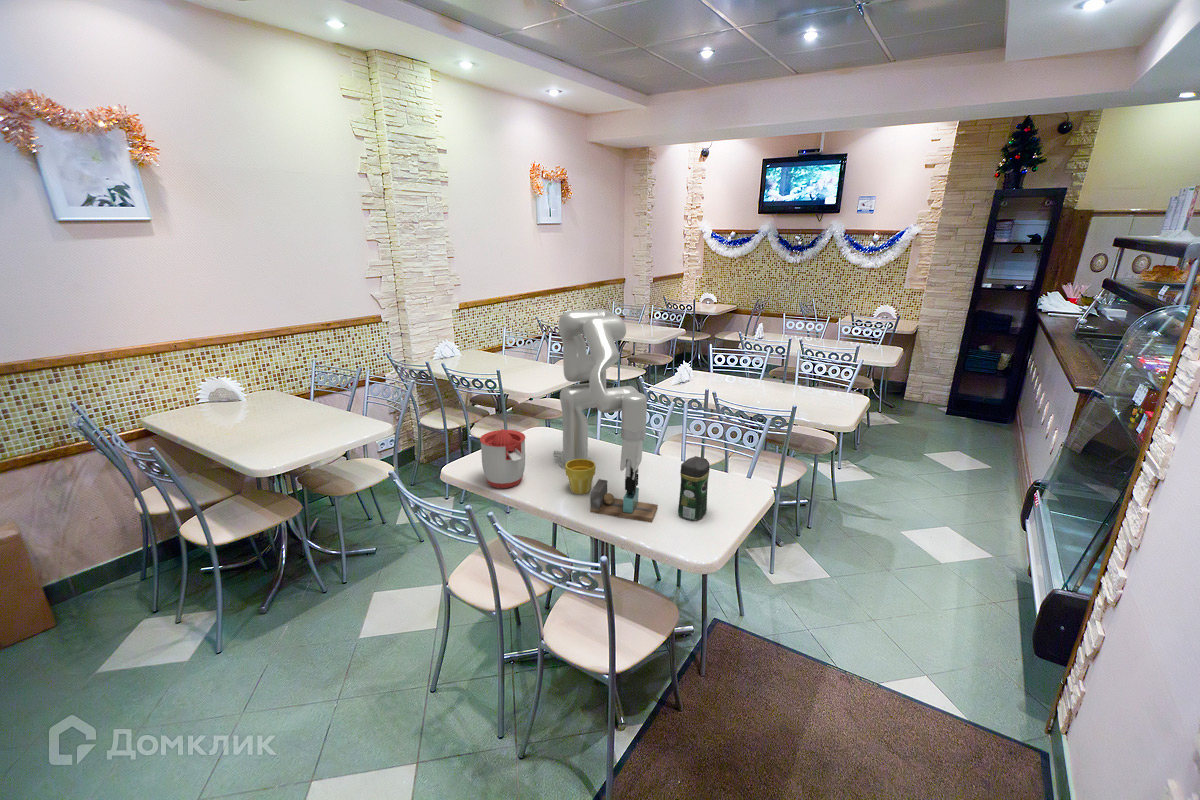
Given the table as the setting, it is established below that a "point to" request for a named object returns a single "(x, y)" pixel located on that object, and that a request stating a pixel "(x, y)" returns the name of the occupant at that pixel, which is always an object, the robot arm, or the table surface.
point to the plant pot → (580, 475)
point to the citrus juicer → (503, 457)
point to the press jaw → (631, 498)
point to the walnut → (608, 498)
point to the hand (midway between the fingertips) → (631, 487)
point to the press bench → (618, 505)
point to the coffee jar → (693, 488)
